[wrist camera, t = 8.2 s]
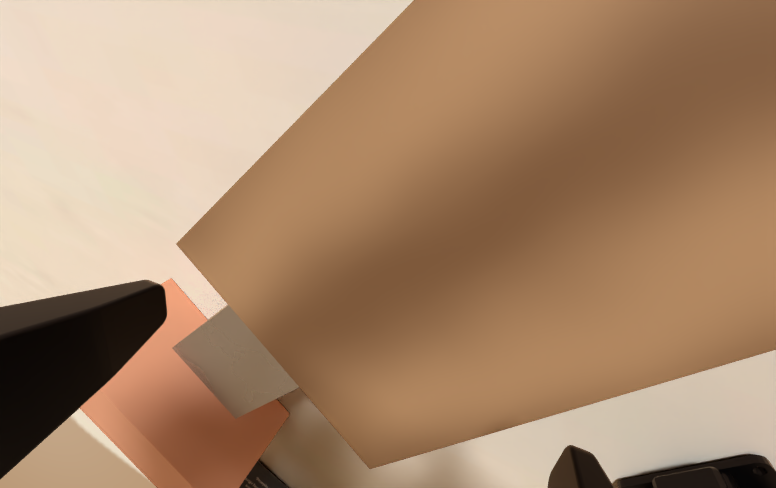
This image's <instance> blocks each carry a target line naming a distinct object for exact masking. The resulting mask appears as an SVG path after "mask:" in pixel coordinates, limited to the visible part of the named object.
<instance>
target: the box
mask: <svg viewBox="0 0 776 488" xmlns="http://www.w3.org/2000/svg"><path fill="white" fill-rule="evenodd" d="M239 488H288V487H287V486H285V485H284V484H283V483H282V482H281V481H280V480H279V479H278V478H276V477H275V476H274V475H273V474H272V473H271V472H270V471H269V470H267V469H266V468H265V467H264V466H263V465H262V464H261V463H260V462H259V461H257V462H256V464H255V465H254V467H253V468H252V470H251V471H250V472H249V474H248V475H247V477H246V478H245V480H244V481H243V483H242V484H241V485H240V487H239Z"/></svg>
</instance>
